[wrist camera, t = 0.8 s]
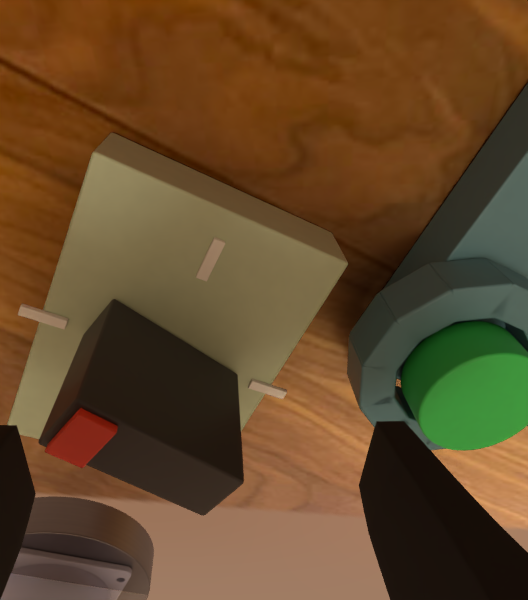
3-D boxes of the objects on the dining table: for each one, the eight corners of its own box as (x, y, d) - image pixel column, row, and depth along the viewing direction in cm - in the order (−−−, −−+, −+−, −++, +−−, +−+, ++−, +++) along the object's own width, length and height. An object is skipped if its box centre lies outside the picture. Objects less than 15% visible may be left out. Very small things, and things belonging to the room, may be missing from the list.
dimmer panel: (222, 438, 21) (222, 488, 19) (12, 380, 19) (-16, 431, 16) (346, 238, 17) (366, 273, 14) (91, 121, 14) (67, 141, 12)
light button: (465, 424, 17) (489, 463, 16) (377, 394, 16) (393, 432, 14) (542, 344, 15) (577, 378, 14) (449, 302, 14) (477, 335, 13)
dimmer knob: (238, 373, 16) (245, 490, 12) (206, 404, 17) (203, 525, 13) (113, 297, 14) (73, 406, 10) (82, 334, 15) (32, 452, 11)
